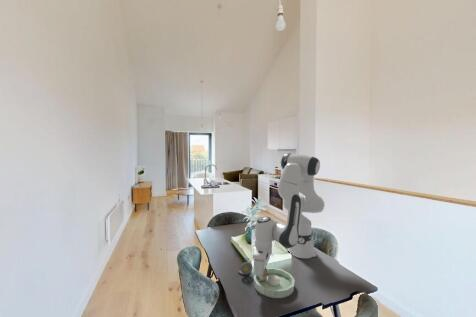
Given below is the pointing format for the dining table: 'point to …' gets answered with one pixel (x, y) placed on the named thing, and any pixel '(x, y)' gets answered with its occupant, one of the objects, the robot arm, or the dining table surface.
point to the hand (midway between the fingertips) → (262, 275)
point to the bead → (264, 275)
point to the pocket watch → (245, 268)
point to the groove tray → (275, 290)
